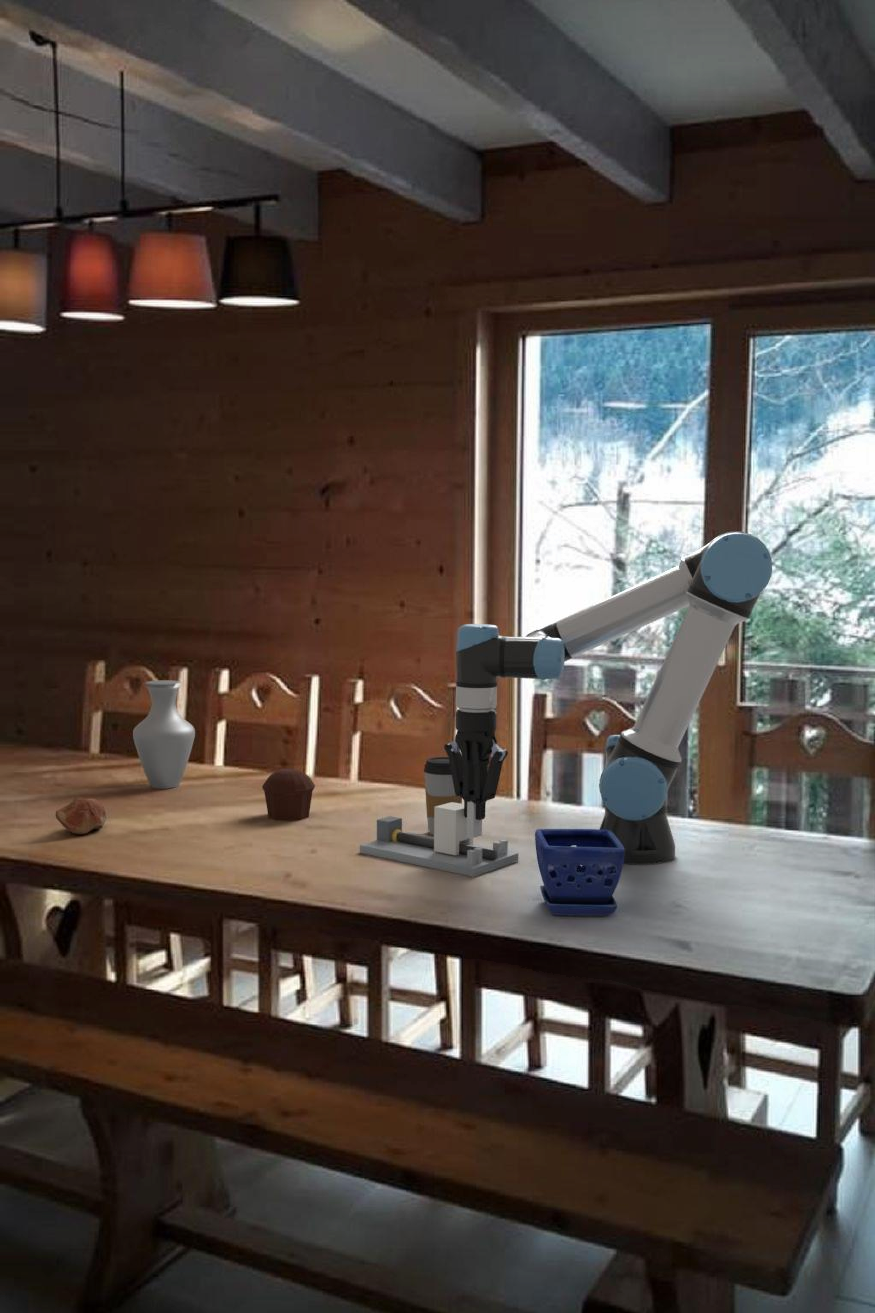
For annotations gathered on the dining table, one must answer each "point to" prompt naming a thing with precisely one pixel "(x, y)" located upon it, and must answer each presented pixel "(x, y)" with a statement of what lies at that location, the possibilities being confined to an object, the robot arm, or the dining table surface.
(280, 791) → the muffin
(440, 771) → the coffee cup
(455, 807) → the cream rail slider block
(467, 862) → the sliding block rail
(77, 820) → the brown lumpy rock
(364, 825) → the dining table surface
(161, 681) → the vase
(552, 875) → the flower pot
